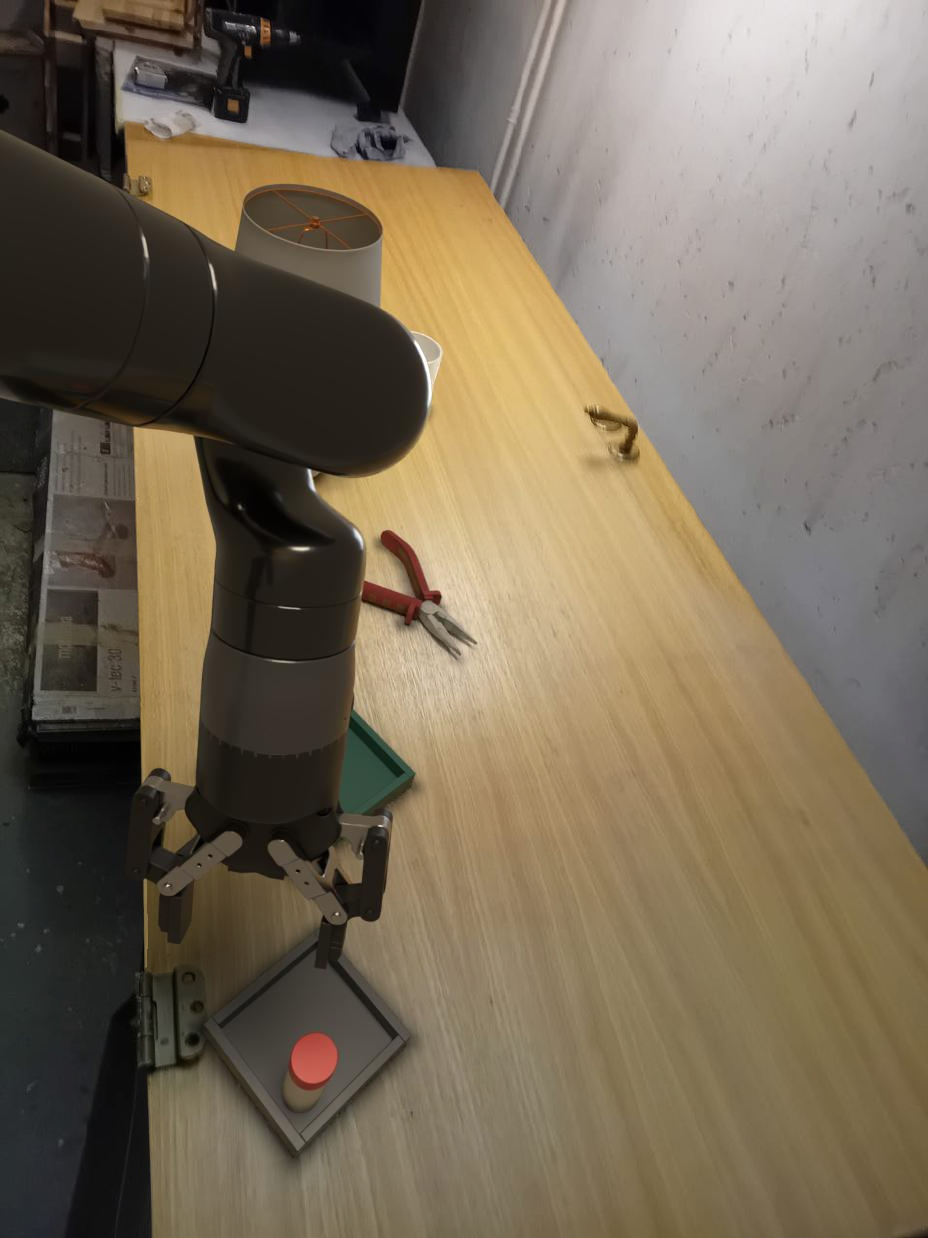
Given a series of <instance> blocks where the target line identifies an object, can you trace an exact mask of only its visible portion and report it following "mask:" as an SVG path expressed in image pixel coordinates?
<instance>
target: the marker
mask: <svg viewBox="0 0 928 1238" xmlns="http://www.w3.org/2000/svg"><path fill="white" fill-rule="evenodd" d="M337 1061H338V1052H337V1048H336V1046H335V1044H334V1042H333V1041H332V1040H331V1039H330V1038H329V1037H328V1036H326V1035H324V1034H322V1033H310V1034H307V1035H305V1036H303V1037H302V1038H301V1039H299V1040H298V1042H297V1043H296V1044H295V1046H294V1048H293V1050H292V1053H291V1056H290V1060H289V1067H288V1070H287V1074H286V1077H285V1080H284V1083H283V1086H282V1100H283V1102H284V1104H285V1106H286V1107H287V1108H288V1109H289V1110H291V1111H293V1112H295V1113H304V1112H307V1111H309V1110H310V1109H312V1108H313V1107H314V1106H315V1105H316V1103H317V1102H318V1100H319V1098H320V1096H321V1094H322V1092H323V1090H324V1087H325V1085H326V1083H327V1082H328V1081H329V1080H330V1078H331V1076H332V1074H333V1072H334V1070H335V1068H336V1065H337Z"/></svg>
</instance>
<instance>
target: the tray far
mask: <svg viewBox="0 0 928 1238" xmlns="http://www.w3.org/2000/svg"><path fill="white" fill-rule="evenodd" d="M416 773H417V772H415V771H414V769H412V767H410V766H409V764H408V763H406V762H405V760H404V759H402V757H401V756H400V755H398V753H397V752H396V751H395V750H394V749H393V748H392V747H391V746H390V745H389V744H388V743H387V741H385V740H384V739H383V738H382V737H381V736H380V735H379V734H378V733H377V732H376V731H375V729H374V728H373V727H371V725H369V723H368V722H367V721H365V719H364V718H362V716H361V715H360V714H359V713H358V712H357V711H356V710H355V709H354V708H353V711H352V712H351V714H350V719H349V727H348V734H347V740H346V747H345V754H344V761H343V768H342V775H341V782H340V789H339V802H340V805H341V807H342V809H343V811H344V813H347V814H355V815H363V816H372V813H373V811H374V810H375V809H377V808H386V806H387V805H389V804H390V803H392V802H393V801H395V799H396V798H397V797H399V796H400V795H402V794H403V793H404V792H405V791H407V790H408V789H410V788H411V787H412V785H413V782H414V779H415V777H416V775H417V774H416ZM343 839H344V838H343V837H339V839H338V840H337V842H336V843H335V844H333V845H332V846H333V847H334V846H335V845H336V844H338V843H339V842H341V841H342V840H343Z"/></svg>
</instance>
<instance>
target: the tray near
mask: <svg viewBox="0 0 928 1238" xmlns="http://www.w3.org/2000/svg"><path fill="white" fill-rule="evenodd" d="M319 931H320V926H319V927H318V928H317V929H316V930H315V931H313V932H312V933H311V934H309V935H308V936H307V937H306V938H304V939H303V940H302V941H301V942H300V943H298V944H297V945H296V946H295V947H294V948H293V949H291V950H290V951H289V952H287V954H285V955H284V956H283V957H282V958H281V959H279V960H278V961H276V963H274V965H272V966H271V967H270V968H269V969H267V970H266V971H265V972H264V973H262V974H261V975H260V976H259V977H257V978H256V979H255V980H254V981H253V982H252V983H251V984H249V985H248V986H247V987H246V988H244V989H243V990H242V991H241V992H239V993H238V994H237V995H236V996H235V997H233V998H232V999H231V1000H230V1001H228V1003H226V1004H225V1005H224V1006H223V1007H222V1008H220V1009H219V1010H218V1011H217V1012H215V1014H213V1015H212V1016H211V1017H210V1018H209V1019H207V1020H206V1021H205V1022H204V1023H203V1031H202V1033H203V1036H204V1037H205V1039H207V1041H208V1042H209V1044H210V1045H211V1046H212V1048H213V1049H214V1050H215V1052H216V1053H217V1055H218V1056H219V1058H221V1060H222V1062H223V1063H224V1064H225V1065H226V1067H227V1068H228V1070H229V1071H230V1073H232V1075H233V1077H235V1079H236V1081H237V1082H238V1083H239V1084H240V1087H242V1089H243V1090H244V1091H245V1093H246V1094H247V1096H248V1097H249V1098H250V1099H251V1101H252V1102H253V1104H254V1106H255V1107H256V1108H257V1110H258V1111H259V1112H260V1113H261V1115H262V1116H263V1117H264V1119H265V1120H266V1121H267V1123H268V1124H269V1125H270V1127H271V1128H272V1130H273V1131H274V1132H275V1134H276V1135H277V1136H278V1138H279V1139H280V1140H281V1143H283V1145H284V1146H285V1147H286V1148H287V1150H288V1151H289V1153H290V1154H291V1155H292V1157H293V1158H294V1159H295V1158H297V1157H298V1155H299V1154H300V1153H301V1152H302V1151H303V1150H305V1148H306V1147H307V1146H308V1145H309V1144H310V1143H311V1142H312V1141H313V1140H315V1138H316V1137H317V1136H318V1135H319V1134H320V1133H321V1132H322V1131H323V1130H324V1129H325V1128H326V1127H327V1126H328V1125H329V1124H330V1123H331V1122H332V1121H333V1120H334V1119H335V1118H336V1117H337V1115H338V1114H340V1112H341V1111H343V1109H344V1108H346V1106H347V1105H348V1104H349V1103H350V1102H351V1101H352V1100H354V1099H355V1097H356V1096H357V1095H358V1094H359V1093H361V1091H362V1090H363V1089H364V1088H365V1087H366V1086H367V1085H368V1084H369V1083H370V1082H371V1081H372V1080H373V1078H375V1076H377V1075H378V1073H379V1072H380V1071H381V1070H382V1069H383V1068H384V1067H385V1066H386V1065H387V1064H388V1063H390V1061H391V1060H392V1059H393V1058H394V1057H395V1056H396V1055H397V1054H398V1053H399V1052H400V1051H401V1050H402V1049H403V1048H404V1047H405V1046H406V1045H407V1043H409V1040H410V1039H411V1038H412V1036H413V1034H412V1033H411V1031H410V1030H409V1029H408V1028H407V1026H405V1025H404V1023H403V1022H402V1021H401V1020H400V1018H399V1017H397V1015H396V1014H395V1013H394V1011H393V1010H392V1009H391V1008H390V1007H389V1006H388V1004H387V1003H386V1001H384V1000H383V999H382V997H381V996H380V995H379V994H378V992H377V991H376V990H375V989H374V987H373V986H371V984H370V983H369V981H367V979H366V978H365V977H364V976H363V975H362V973H361V971H359V970H358V968H357V967H356V966H355V965H354V964H353V963H352V961H351V960H350V959H349V957H347V956H346V954H344V951H342V953H341V956H340V958H339V959H338V960H337V962H333V961H328V965H327V968H326V970H324V969H318V968H314V965H315V958H316V951H317V944H318V938H319ZM310 1033H322V1034H324V1035H326V1036H328V1037H329V1038H330V1039H331V1040H332V1041H333V1042H334V1044H335V1046H336V1048H337V1052H338V1061H337V1065H336V1068H335V1070H334V1072H333V1074H332V1076H331V1078H330V1080H329V1081H328V1082H327V1083H326V1085H325V1087H324V1090H323V1092H322V1094H321V1096H320V1098H319V1100H318V1102H317V1103H316V1105H315V1106H314V1107H313V1108H312V1109H310V1110H309V1111H307V1112H304V1113H295V1112H293V1111H291V1110H289V1109H288V1108H287V1107H286V1106H285V1104H284V1102H283V1100H282V1086H283V1083H284V1080H285V1077H286V1074H287V1070H288V1067H289V1060H290V1056H291V1053H292V1050H293V1048H294V1046H295V1044H296V1043H297V1042H298V1040H299V1039H301V1038H302V1037H303V1036H305V1035H307V1034H310Z"/></svg>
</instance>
